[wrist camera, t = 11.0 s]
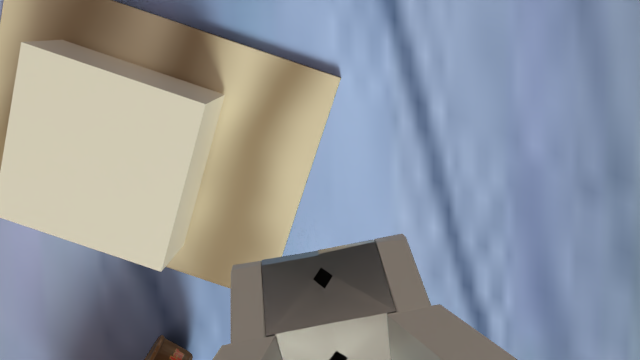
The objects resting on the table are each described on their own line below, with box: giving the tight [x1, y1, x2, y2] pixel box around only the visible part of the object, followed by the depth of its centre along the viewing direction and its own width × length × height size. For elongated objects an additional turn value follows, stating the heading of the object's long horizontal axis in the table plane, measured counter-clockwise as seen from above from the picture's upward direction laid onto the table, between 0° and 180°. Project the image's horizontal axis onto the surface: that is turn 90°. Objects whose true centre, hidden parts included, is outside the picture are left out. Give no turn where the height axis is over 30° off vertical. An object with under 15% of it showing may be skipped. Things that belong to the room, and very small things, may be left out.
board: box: [0, 0, 341, 288], centre depth 35 cm, size 20×15×1 cm
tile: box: [0, 40, 225, 272], centre depth 33 cm, size 4×10×10 cm
